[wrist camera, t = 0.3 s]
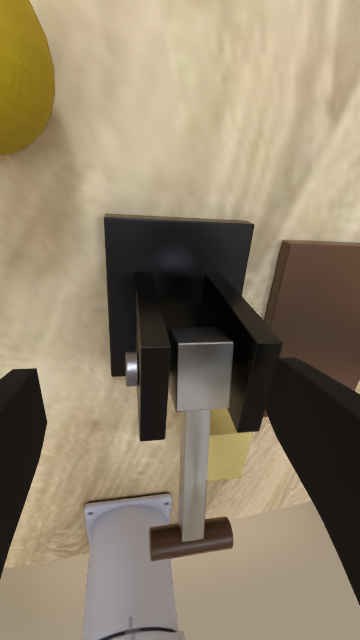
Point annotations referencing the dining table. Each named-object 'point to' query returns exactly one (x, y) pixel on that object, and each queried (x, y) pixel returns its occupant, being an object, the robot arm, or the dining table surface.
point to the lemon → (23, 76)
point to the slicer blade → (195, 439)
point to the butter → (226, 447)
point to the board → (318, 307)
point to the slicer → (183, 309)
